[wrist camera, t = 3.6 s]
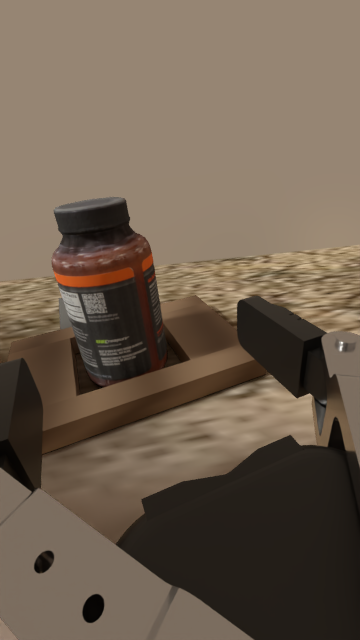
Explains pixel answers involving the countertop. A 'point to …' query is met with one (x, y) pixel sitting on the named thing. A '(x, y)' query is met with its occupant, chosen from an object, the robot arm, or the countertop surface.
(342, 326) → the countertop surface
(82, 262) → the supplement bottle
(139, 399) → the walnut holder
